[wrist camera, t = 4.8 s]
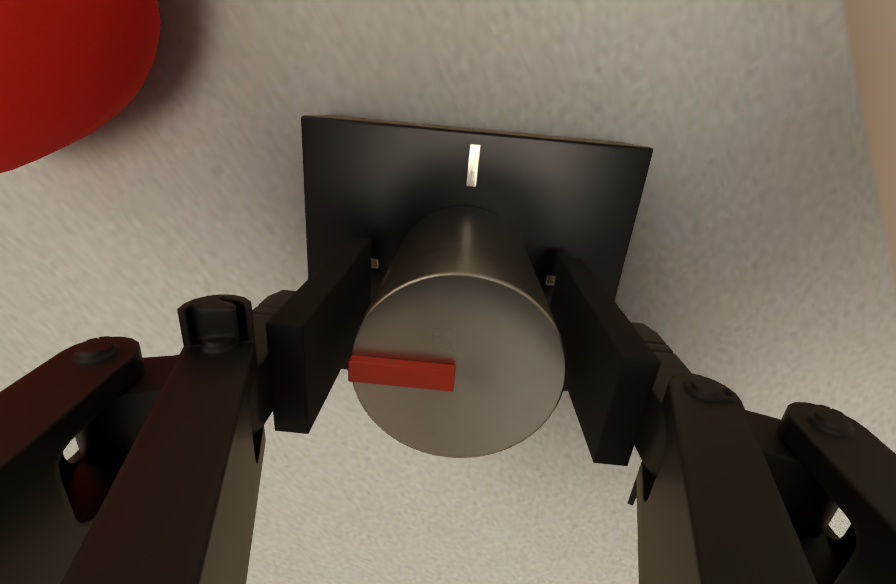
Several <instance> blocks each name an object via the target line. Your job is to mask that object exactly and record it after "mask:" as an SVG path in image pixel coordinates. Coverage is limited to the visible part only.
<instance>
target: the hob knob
mask: <svg viewBox="0 0 896 584" xmlns="http://www.w3.org/2000/svg"><path fill="white" fill-rule="evenodd" d="M566 375H567V357H566V351H565V346H564V343H563V340H562V337H561V334H560V332H559V329H558V327H557V325H556V322H555V320H554V317H553V315H552V312H551V310H550V307H549V305H548V303H547V300H546V298H545V295H544V293H543V290H542V288H541V286H540V283H539V281H538V278H537V276H536V273H535V271H534V269H533V266H532V264H531V261H530V259H529V256H528V254H527V251H526V249H525V247H524V244H523V242H522V240H521V238H520V237H519V235H518V234H517V233H516V231H515V230H514V229H513V228H512V227H511V226H510V225H509V224H508V223H507V222H506V221H505V220H503V219H502V218H501V217H499V216H497V215H496V214H494V213H492V212H489V211H487V210H484V209H481V208H477V207H470V206H455V207H448V208H444V209H441V210H438V211H435V212H433V213H431V214H429V215H427V216H426V217H424V218H423V219H422V220H420V221H419V222H418V223H417V224H416V225H415V226H414V227H413V228H412V229H411V230H410V231H409V233H408V234H407V235H406V237H405V239H404V240H403V242H402V244H401V246H400V248H399V250H398V252H397V254H396V256H395V257H394V259H393V261H392V263H391V265H390V267H389V269H388V271H387V273H386V275H385V277H384V279H383V280H382V282H381V284H380V286H379V288H378V290H377V292H376V294H375V296H374V298H373V300H372V301H371V303H370V305H369V307H368V309H367V311H366V313H365V315H364V317H363V319H362V321H361V323H360V324H359V326H358V329H357V331H356V334H355V336H354V339H353V343H352V347H351V354H350V359H349V361H348V380H349V382H353V386H354V389H355V392H356V394H357V397H358V399H359V401H360V403H361V404H362V406H363V408H364V410H365V411H366V412H367V414H368V415H369V416H370V418H371V419H372V420H373V421H374V422H375V423H376V424H377V425H378V426H379V427H380V428H381V429H382V430H383V431H385V432H386V433H387V434H388V435H390V436H391V437H393V438H394V439H396V440H397V441H399V442H401V443H403V444H405V445H407V446H409V447H411V448H413V449H416V450H419V451H421V452H425V453H429V454H432V455H437V456H443V457H454V458H467V457H478V456H485V455H489V454H493V453H497V452H500V451H502V450H505V449H508V448H510V447H512V446H514V445H516V444H518V443H520V442H522V441H523V440H525V439H526V438H528V437H529V436H531V435H532V434H533V433H534V432H536V431H537V430H538V429H539V428H540V427H541V426H542V425H543V424H544V423H545V422H546V421H547V419H548V418H549V417H550V416H551V414H552V413H553V411H554V410H555V408H556V406H557V404H558V402H559V400H560V398H561V396H562V392H563V389H564V386H565V382H566Z"/></svg>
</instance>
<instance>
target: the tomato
mask: <svg viewBox="0 0 896 584" xmlns="http://www.w3.org/2000/svg"><path fill="white" fill-rule="evenodd" d="M160 26H161V23H160V15H159V7H158V0H0V173H2V172H6V171H10V170H13V169H16V168H18V167H20V166H23V165H25V164H28V163H30V162H33V161H35V160H38V159H40V158H42V157H44V156H46V155H48V154H51V153H53V152H55V151H57V150H59V149H61V148H63V147H65V146H67V145H69V144H71V143H73V142H75V141H77V140H79V139H81V138H83V137H85V136H87V135H89V134H91V133H93V132H94V131H95V130H97V129H98V128H99V127H101V126H102V125H103V124H105V123H106V122H107V121H109V120H110V119H111V118H113V117H114V116H115V115H117V114H118V113H119V112H120V111H121V110H123V109H124V108H125V107H126V106H127V105H128V104H129V103H130V102H131V100H132V99H133V98H134V96H135V95H136V93H137V92H138V91H139V89H140V88H141V86H142V85H143V84H144V82H145V80H146V78H147V75H148V73H149V71H150V68H151V66H152V64H153V61H154V59H155V57H156V52H157V45H158V39H159V33H160Z"/></svg>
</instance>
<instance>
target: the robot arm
mask: <svg viewBox="0 0 896 584" xmlns="http://www.w3.org/2000/svg"><path fill="white" fill-rule="evenodd" d="M371 246H372V239H368V238H357V237H349V238H348V239H347V240H346V241H345V242H344V243H343V244H342V245H341V246H340V247H339V248H338V249H337V250H336V251H335V252H334V253H333V254H332V255H331V256H330V257H329V258H328V260H327V261H326V262H325V263H324V264H323V265H322V266H321V267H320V268H319V269H318V270H317V271H316V272H315V273H314V274H313V275H312V276H311V277H310V278H309V279H308V280H307V281H306V282H305V283H304V284H303V285H302V286H301V287H300V288H299V289H298V290H297V291H288V290H282V291H279V292H277V293H275V294H272V295H270V296H268V297H267V298H266V299H264V300H263V301H262V302H261V303H260V304H259V306H258V307H256V308H255V309H253V310H252V305H251V301H249V300H248V299H246V298H245V297H241V296H236V295H212V296H205V297H201V298H197V299H194V300H191V301H189V302H187V303H184V304H183V305H182V306H181V307H179V308H178V309H177V310H178V316H179V322H180V327H181V333H182V338H183V344H184V347H183V349H182V351H181V353H180V355H174V356H161V357H148V358H142V354H141V350H140V345H139V342H137V341H135V340H134V339H132V338H126V337H109V336H106V337H99V339H97V338H93V339H89V340H87V341H86V342H82V343H79V344H76V345H73V346H72V347H70V348H68V349H66V350H64V351H62V352H60V353H59V354H57V355H56V356H54V357H53V358H51V359H49V360H48V361H46V362H45V363H43V364H42V365H40V366H39V367H37V368H36V369H34V370H33V371H31V372H30V373H28V374H27V375H25V376H24V377H22V378H21V379H19V380H18V381H16V382H15V383H13V384H12V385H10V386H9V387H7V388H5V389H4V390H2V391H1V392H0V584H246V579H247V572H248V565H249V557H250V550H251V543H252V536H253V528H254V521H255V514H256V506H257V499H258V492H259V485H260V477H261V470H262V463H263V456H264V448H265V441H266V440H265V430H264V424H265V422H266V421H267V419H268V418H269V416H270V415H271V413H272V412H273V414H274V425H275V431H285V432H295V433H304V434H308V433H309V431H310V429H311V427H312V425H313V423H314V421H315V419H316V418H317V416H318V414H319V412H320V410H321V408H322V406H323V404H324V402H325V400H326V398H327V396H328V394H329V392H330V390H331V388H332V386H333V384H334V382H335V380H336V378H337V376H338V374H339V372H340V370H341V368H342V366H343V364H344V362H345V360H346V358H347V356H348V354H349V352H350V350H351V347H352V343H353V339H354V336H355V334H356V331H357V329H358V326H359V324H360V323H361V321H362V319H363V317H364V315H365V313H366V311H367V309H368V307H369V305H370V303H371ZM550 310H551V312H552V315H553V317H554V320H555V322H556V325H557V327H558V329H559V332H560V334H561V337H562V340H563V343H564V346H565V351H566V357H567V375H566V382H565V383H566V386H567V389H568V392H569V395H570V397H571V400H572V403H573V406H574V409H575V411H576V414H577V417H578V420H579V423H580V426H581V428H582V431H583V434H584V437H585V440H586V442H587V445H588V448H589V451H590V454H591V457H592V459H593V462H594V463H602V464H612V465H622V466H628V463H629V459H630V456H631V453H632V450H633V447H634V445H635V447H636V449H637V451H638V453H639V455H640V457H641V459H642V462H641V465H640V468H639V471H638V474H637V477H636V480H635V483H634V486H633V489H632V491H631V494H630V497H629V501H628V504H630V505H633V504H634V501H635V499H636V498H637V523H638V566H639V584H896V454H895V453H894V452H893V451H891V450H890V449H889V448H888V447H887V446H886V445H885V444H883V443H882V442H881V441H880V440H879V439H878V438H877V437H875V436H874V435H873V434H872V433H871V432H870V431H869V430H867V429H866V428H865V427H863V426H862V425H860V424H859V423H858V422H856V421H855V420H853V419H851V418H849V417H847V416H845V415H844V414H843V413H842V412H840V411H837V410H835V409H833V408H832V409H830V407H827V406H823V405H816V404H811V403H805V402H795V403H792V404H789V405H788V407H787V409H786V411H785V413H784V415H783V417H782V419H781V420H780V419H777V418H773V417H769V416H766V415H762V414H758V413H755V412H751V411H747V410H745V409H744V406H743V404H742V401H741V400H740V399H739V397H738V396H737V394H736V393H734V392H733V391H732V390H730V389H729V388H728V387H726V386H725V385H723V384H721V383H719V382H717V381H715V380H713V379H710V378H707V377H704V376H701V375H696V374H692V373H691V372H690V371H689V370H688V368H687V367H686V366H685V365H684V364H683V363H682V361H681V360H680V359H679V358H678V357H677V356H676V354H673V351H672V350H671V349H670V347H669V346H668V345H666V343H665V341H664V340H663V339H662V338H661V337H660V336H659V334H658V333H656V332H655V331H653V330H652V329H650V328H649V327H647V326H645V325H644V324H642V323H631V322H630V321H629V320H628V318H627V317H626V316H625V314H624V313H623V312H622V311H621V309H620V308H619V307H618V305H617V304H616V303H615V302H614V300H613V299H612V298H611V296H610V295H609V294H608V292H607V291H606V290H605V289H604V287H603V286H602V285H601V283H600V282H599V281H598V279H597V278H596V277H595V276H594V274H593V273H592V272H591V270H590V269H589V268H588V266H587V265H586V264H585V263H584V261H583V260H582V259H577V258H566V257H559V262H558V268H557V273H556V278H555V283H554V288H553V293H552V298H551V303H550ZM74 437H75V438H76V441H77V444H78V448H79V450H78V451H77V452H76V453H75V454H74V455H73V456H72V457H71V458H70V459H68V460H66V459H65V458H64V455H63V450H64V449H65V448H66V446H67V445H68V444H69V442H70V441H71V440H72V439H73V438H74ZM838 508H840V509H841V510H842V511H843V512H844V514H845V515H846V516H847V517H848V519H849V521H850V522H851V525H850V526H849V528H848V530H847V531H846V533H845V534H844V536H842V537H841V538H839V537H838V536H837V535H836V534H835V533H834V532H833V530H832V529H831V528H830V526H829V525H828V524H829V522H830V521H831V519H832V517H833V516H834V514H835V513H836V511H837V509H838Z"/></svg>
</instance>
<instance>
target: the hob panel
mask: <svg viewBox="0 0 896 584" xmlns="http://www.w3.org/2000/svg"><path fill="white" fill-rule="evenodd" d="M301 127H302V149H303V172H304V194H305V216H306V238H307V260H308V279H309V278H310V277H311V276H312V275H313V274H314V273H315V272H316V271H317V270H318V269H319V268H320V267H321V266H322V265H323V264H324V263H325V262H326V261H327V260H328V258H329V257H330V256H331V255H332V254H333V253H334V252H335V251H336V250H337V249H338V248H339V247H340V246H341V245H342V244H343V243H344V242H345V241H346V240H347V239H348V238H349V237H357V238H368V239H372V246H371V301H372V300H373V298H374V296H375V294H376V292H377V290H378V288H379V286H380V284H381V282H382V280H383V279H384V277H385V275H386V273H387V271H388V269H389V267H390V265H391V263H392V261H393V259H394V257H395V256H396V254H397V252H398V250H399V248H400V246H401V244H402V242H403V240H404V239H405V237H406V235H407V234H408V233H409V231H410V230H411V229H412V228H413V227H414V226H415V225H416V224H417V223H418V222H419V221H420V220H422V219H423V218H424V217H426V216H427V215H429V214H431V213H433V212H435V211H438V210H441V209H444V208H448V207H455V206H470V207H477V208H481V209H484V210H487V211H489V212H492V213H494V214H496V215H497V216H499V217H501V218H502V219H503V220H505V221H506V222H507V223H508V224H509V225H510V226H511V227H512V228H513V229H514V230H515V231H516V233H517V234H518V235H519V237H520V238H521V240H522V242H523V244H524V247H525V249H526V251H527V254H528V256H529V259H530V261H531V264H532V266H533V269H534V271H535V273H536V276H537V278H538V281H539V283H540V286H541V288H542V290H543V293H544V295H545V298H546V300H547V303H548V305H549V307H550V303H551V298H552V293H553V288H554V283H555V278H556V273H557V268H558V262H559V257H566V258H577V259H582V260H583V261H584V263H585V264H586V265H587V266H588V268H589V269H590V270H591V272H592V273H593V274H594V276H595V277H596V278H597V279H598V281H599V282H600V283H601V285H602V286H603V287H604V289H605V290H606V291H607V292H608V294H609V295H610V296H611V298H612V299H613V300H615V296H616V292H617V288H618V285H619V281H620V277H621V273H622V269H623V265H624V261H625V258H626V254H627V250H628V246H629V242H630V238H631V234H632V231H633V227H634V223H635V219H636V215H637V211H638V207H639V204H640V200H641V196H642V192H643V188H644V184H645V180H646V176H647V173H648V169H649V165H650V161H651V157H652V153H653V149H652V148H650V147H645V146H639V145H634V144H629V143H624V142H613V141H602V140H591V139H581V138H570V137H559V136H548V135H537V134H527V133H516V132H505V131H494V130H484V129H473V128H462V127H451V126H440V125H430V124H419V123H408V122H397V121H386V120H376V119H365V118H354V117H343V116H333V115H304V116H302V117H301ZM350 354H351V350H350V352H349V354H348V356H347V358H346V360H345V362H344V364H343V366H342V368H341V369H348V361H349V359H350ZM563 391H568V389H567V386H566V383H565V386H564V389H563Z"/></svg>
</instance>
